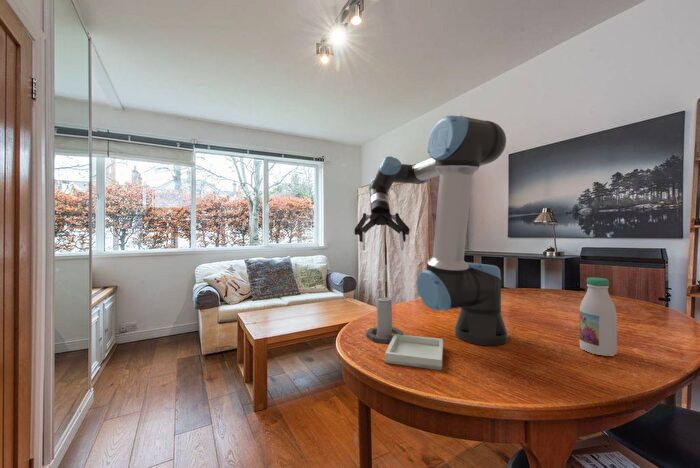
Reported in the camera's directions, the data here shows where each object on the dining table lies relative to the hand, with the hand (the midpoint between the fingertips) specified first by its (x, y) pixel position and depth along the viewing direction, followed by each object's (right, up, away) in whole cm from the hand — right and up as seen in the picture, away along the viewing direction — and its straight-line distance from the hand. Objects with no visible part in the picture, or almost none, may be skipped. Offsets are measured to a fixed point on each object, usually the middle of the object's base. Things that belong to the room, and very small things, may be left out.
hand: (383, 248), depth 102 cm
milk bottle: (+56, -27, -23) cm, 66 cm away
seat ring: (-1, -28, -9) cm, 29 cm away
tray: (+6, -28, -23) cm, 37 cm away
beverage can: (-1, -28, -9) cm, 29 cm away
